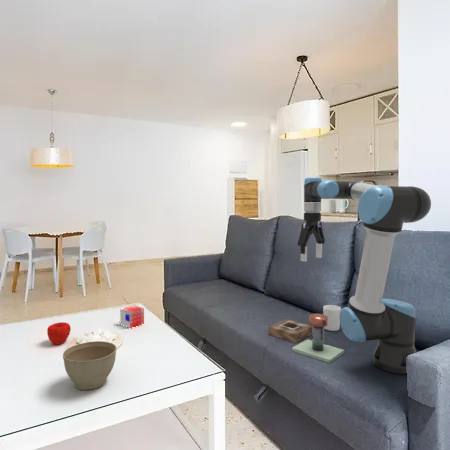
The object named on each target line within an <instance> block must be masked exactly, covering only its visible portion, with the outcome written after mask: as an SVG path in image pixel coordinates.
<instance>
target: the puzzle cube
mask: <svg viewBox="0 0 450 450" xmlns="http://www.w3.org/2000/svg"><path fill="white" fill-rule="evenodd" d="M119 313H120V315H119V317H120V318H119V319H120V321H119V323H120V324H122V325H124V326H127V327H129V328H131V329H133V328H132V327H135V328H137V327H136V326H138V327H140V326H139V325H141V326H143V325H142V324H144V325H145V308H143V307H141V306H137V305H130V306H126V307H122V308H120V311H119ZM122 325H121V326H122ZM124 326H123V327H124ZM127 327H126V328H127ZM129 328H128V329H129Z"/></svg>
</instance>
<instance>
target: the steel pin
mask: <svg viewBox="0 0 450 450" xmlns="http://www.w3.org/2000/svg"><path fill="white" fill-rule="evenodd" d="M308 316H309V317H308V325H311V326H312V335H311V340H312V349H313V350H315V351H323V350H324V342H325V328H324V327H325V326H327V325H328V316H326V315H324V314H323V313H311V314H309V315H308Z"/></svg>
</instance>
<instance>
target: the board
mask: <svg viewBox="0 0 450 450" xmlns="http://www.w3.org/2000/svg"><path fill="white" fill-rule="evenodd" d="M291 351H292V352H295V353H298V354H300V355H303V356H306V357H310V358H313V359H316V360H319V361H323V362H324V363H328V364H330V363H332V362H334V361H335V360H336V359H338V358H339V357H341V356H342V355H343V354H344V353H345V349H342V348H339V347H335V346H333V345H328V344H324V350H323V351H315V350H313V349H312V339H306V340H303V341H302V342H300V343H298V344H296V345H294V346H292V347H291Z"/></svg>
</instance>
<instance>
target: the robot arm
mask: <svg viewBox="0 0 450 450" xmlns="http://www.w3.org/2000/svg"><path fill="white" fill-rule="evenodd" d="M332 199H333V200H337V199H339V200H342V199H344V200H352V201H356V202H358V203H357V212H358V219H359V220H360V221H361V222H362V227H363V228H364V229H365V231H366V233H365V238H364V244H363V250H362V255H361V262H360V265H359V266H360V267H359V272H358V277H357V283H356V289H355V293H354V295H352V296H351V297H350V298H349V301H348V306H344V307H342V308H341V311H340V314H339V319H340V326H341V330H342V332H343V334H344V335H345V336H346V338H347V339H348V340H350V341H351V342H356V343H357V342H362V343H363V342H367V341H377V340H378V342H377V345H376V347H375V349H374V352H373V354H372V362H373V364H374V365H375V366H376V367H377V368H379V369H380V370H383V371H385V372H389V373H393V374H397V375H398V374H399V375H407V374H406V357H407V356H408V355H410V354H413V353H417V351H416V347H415V341H416V339H415V338H416V337H415V336H416V320H417V316H416V307H415V306H414V305H413V304H410V303H409V302H405V301H402V300H398V299H392V298H383V296H384V292H385V288H386V282H387V277H388V273H389V267H390V263H391V262H390V261H391V258H392V252H393V249H394V242H395V237H396V236H397V235H398V234H400V233H402V230H403V226H404V224H407V223H409V224H410V223H415V222H418V221H421V220H422V219H424V218H426V216H428V214H429V213H430V210H431V206H432V199H431V197H430V195H429V194H428V192H426V191H425V190H424V189H422V188H421V187H417V186H412V185H411V186H405V185H403V186H402V185H399V186H398V185H377V184H371V183H366V182H364V181H359V180H354V181H353V180H346V181H345V180H331V179H329V180H328V179H324V180H322V177H320V176H317V177H316V176H313V177H312V176H310V177H308V176H307V177H305V178H304V183H303V221H304V222H305V223H301V229H300V234H299V237H298V241H297V245H298V247H300V262H308V246H307V244H308V242H309V240H310V238H311V235H313V236H314V238H315V240H316V243H315V258H316V259H317V258H318V259H322V258H323V244H325V243H326V242H325V241H326V238H325V235H324V230H323V223H322V222H320V221H321V220H322V213H321V212H322V200H332Z"/></svg>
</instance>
